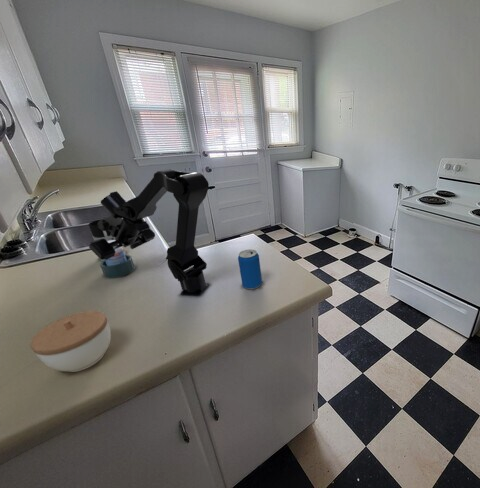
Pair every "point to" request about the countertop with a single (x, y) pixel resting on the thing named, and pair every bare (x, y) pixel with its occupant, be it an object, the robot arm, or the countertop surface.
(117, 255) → the pill bottle
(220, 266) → the countertop surface
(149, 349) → the countertop surface
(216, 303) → the countertop surface
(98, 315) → the lidded bowl
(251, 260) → the beverage can
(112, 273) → the bottle holder
